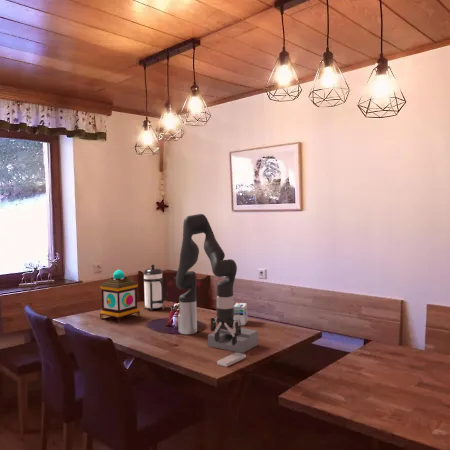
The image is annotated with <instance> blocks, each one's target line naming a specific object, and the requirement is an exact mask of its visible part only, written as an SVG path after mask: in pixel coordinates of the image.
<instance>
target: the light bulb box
mask: <svg viewBox="0 0 450 450" xmlns="http://www.w3.org/2000/svg"><path fill="white" fill-rule="evenodd" d="M234 321H240V323H241V326H245V325H246V324H247V323H248V303H245V302H236V303H234Z"/></svg>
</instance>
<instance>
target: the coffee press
mask: <svg viewBox="0 0 450 450" xmlns="http://www.w3.org/2000/svg"><path fill="white" fill-rule="evenodd" d="M143 294H144V295H143V296H144V298H143V299H144V300H143V301H144V304H143V307H142V309H143V308H147V309H149V310H150V311H149V312H153V311H154V309H159V308H162V310H165V309H166V306H165V305H164V302H165V285H164V281H163V270H162V268H160V267H155V264H151V266H150V267H148V268H146V269H145V270H144V271H143ZM152 310H153V311H152Z"/></svg>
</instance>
